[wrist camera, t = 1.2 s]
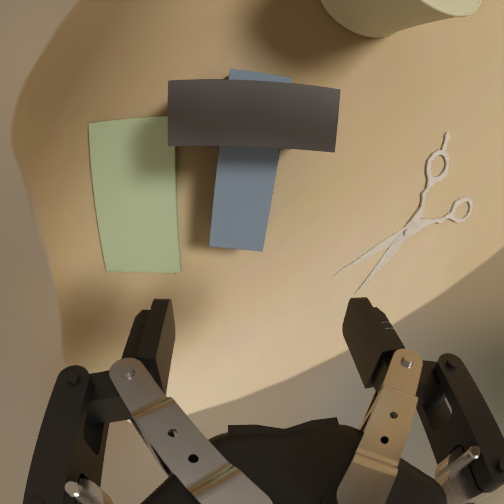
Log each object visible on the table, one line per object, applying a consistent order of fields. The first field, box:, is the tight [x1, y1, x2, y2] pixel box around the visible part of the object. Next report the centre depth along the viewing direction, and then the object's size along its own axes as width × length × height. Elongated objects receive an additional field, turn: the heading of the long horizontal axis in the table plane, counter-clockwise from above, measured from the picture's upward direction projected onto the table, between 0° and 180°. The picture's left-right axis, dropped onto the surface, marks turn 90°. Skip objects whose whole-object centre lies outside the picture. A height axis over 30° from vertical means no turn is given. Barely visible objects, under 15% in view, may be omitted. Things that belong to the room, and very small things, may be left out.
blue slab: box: [209, 69, 292, 251], centre depth 24 cm, size 14×4×4 cm, turn 172°
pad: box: [89, 116, 181, 273], centre depth 26 cm, size 15×8×1 cm, turn 177°
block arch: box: [168, 79, 340, 152], centre depth 20 cm, size 4×10×8 cm, turn 87°
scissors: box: [333, 132, 473, 293], centre depth 30 cm, size 11×1×20 cm
